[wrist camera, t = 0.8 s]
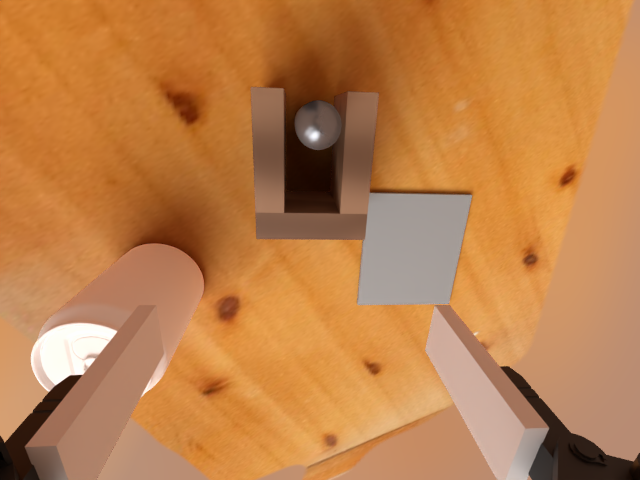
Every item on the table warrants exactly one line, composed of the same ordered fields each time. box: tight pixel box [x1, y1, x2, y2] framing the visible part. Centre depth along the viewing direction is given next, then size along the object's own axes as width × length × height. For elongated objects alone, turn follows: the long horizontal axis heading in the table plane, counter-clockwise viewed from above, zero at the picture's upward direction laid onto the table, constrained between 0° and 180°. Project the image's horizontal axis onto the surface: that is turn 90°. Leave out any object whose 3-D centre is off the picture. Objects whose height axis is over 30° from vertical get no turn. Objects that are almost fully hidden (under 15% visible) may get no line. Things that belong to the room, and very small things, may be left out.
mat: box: [357, 192, 472, 305], centre depth 32 cm, size 12×10×1 cm
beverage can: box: [31, 243, 204, 397], centre depth 26 cm, size 8×8×12 cm
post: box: [294, 100, 342, 150], centre depth 23 cm, size 3×3×10 cm
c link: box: [251, 87, 379, 240], centre depth 25 cm, size 10×8×7 cm
